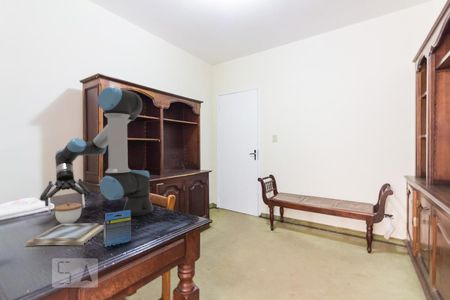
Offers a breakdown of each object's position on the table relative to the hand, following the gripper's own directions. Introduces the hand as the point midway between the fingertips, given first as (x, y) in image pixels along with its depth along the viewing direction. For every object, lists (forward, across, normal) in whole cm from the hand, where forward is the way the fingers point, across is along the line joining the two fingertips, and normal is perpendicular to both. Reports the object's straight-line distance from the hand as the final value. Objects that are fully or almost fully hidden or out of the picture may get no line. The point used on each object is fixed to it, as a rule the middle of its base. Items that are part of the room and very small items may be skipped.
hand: (67, 208), depth 109 cm
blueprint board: (+20, +1, +11) cm, 22 cm away
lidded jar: (+5, 0, -4) cm, 7 cm away
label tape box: (+33, -13, +24) cm, 42 cm away
